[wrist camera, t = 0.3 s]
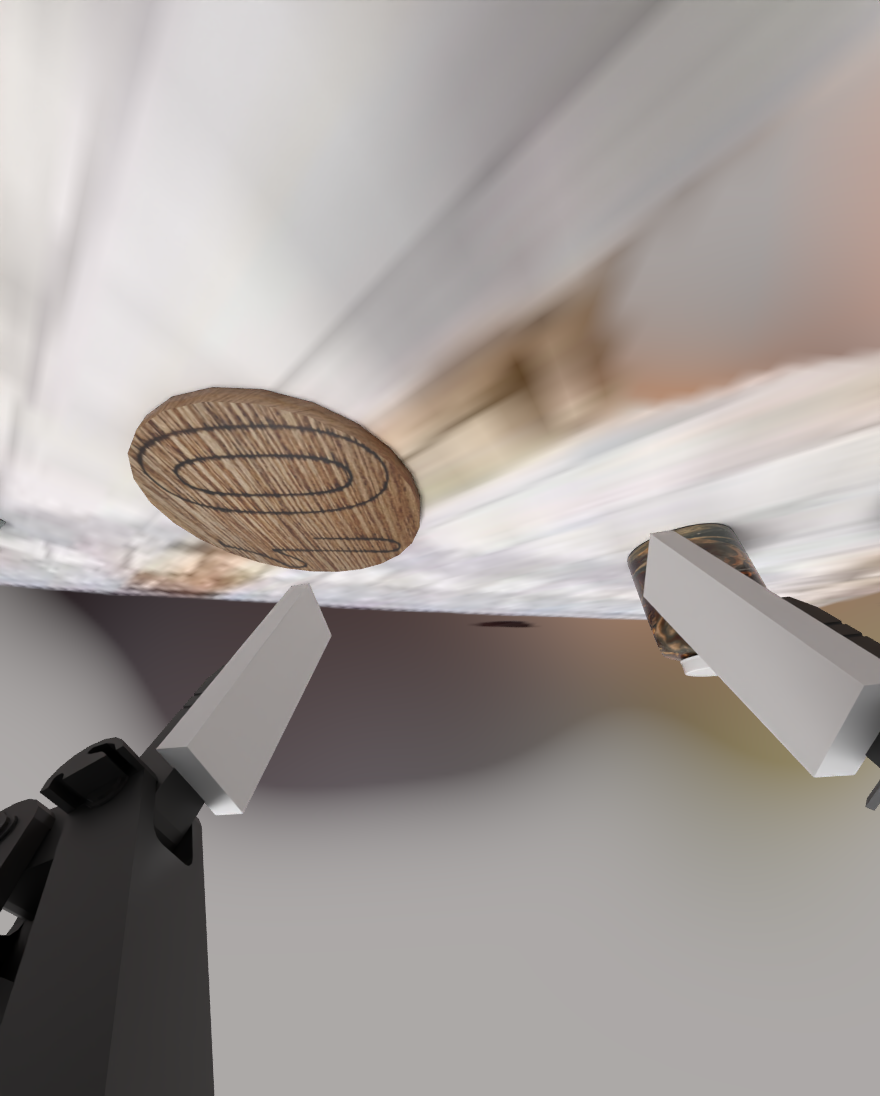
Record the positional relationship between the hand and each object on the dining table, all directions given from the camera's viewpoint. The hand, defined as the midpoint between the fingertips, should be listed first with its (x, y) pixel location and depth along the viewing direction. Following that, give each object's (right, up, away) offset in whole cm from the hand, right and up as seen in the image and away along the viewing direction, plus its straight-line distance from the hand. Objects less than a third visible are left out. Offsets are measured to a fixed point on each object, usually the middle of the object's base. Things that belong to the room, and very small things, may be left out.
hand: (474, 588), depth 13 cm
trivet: (-16, +7, +20) cm, 26 cm away
